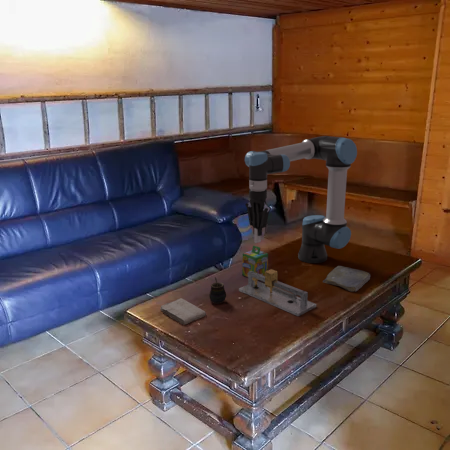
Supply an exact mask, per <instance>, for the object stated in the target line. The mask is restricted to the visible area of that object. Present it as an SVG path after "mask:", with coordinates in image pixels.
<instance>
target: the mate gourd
mask: <svg viewBox="0 0 450 450" xmlns="http://www.w3.org/2000/svg"><path fill="white" fill-rule="evenodd" d="M214 281H215V282H213V283H211V284H210V291H209V300H210V302H211V303H213V304H216V305H219V304H220V305H221V304H223V303H224V302H225V301H226V297H227V293H226V292H227V291H226V290H225V285H224V283H223V282H218V280H217V277H216V276H214Z"/></svg>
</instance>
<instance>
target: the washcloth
mask: <svg viewBox="0 0 450 450" xmlns="http://www.w3.org/2000/svg"><path fill="white" fill-rule="evenodd" d="M159 310H160V311H161V312H162V313H164V315H167V316H168V317H170V318H171V319H173V320H174V321H177V323H180V324H181V325H188V324H189V323H191V322H193V321H196V320H199V319H201V318H203V317H206V316H207V313H206V311H205V310H203V309H201V308H200V307H198V306H197V305H195V304H193V303H191V302H189V301H187V300H186V299H184V298H181V297H180V298H177V299H176V300H174V301H171V302H167V303H164V304H163V305H160V308H159Z"/></svg>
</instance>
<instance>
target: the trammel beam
mask: <svg viewBox="0 0 450 450" xmlns="http://www.w3.org/2000/svg"><path fill="white" fill-rule="evenodd" d="M247 278H248V279H247V284H245V285H244V286H241V287H239V288H238V292H241V293H244V294H245V295H248V296H250V297H252V298H255V299H257V300H260V301H262V302H264V303H266V304H268V305H271V306H274V307H275V308H278V309H280V310H283V311H285V312H287V313H289V314H292V315H294V316H296V317H300V316H302V315H304V314H305V313H307V312H309V311H312V310H314V309H315V308H316V307H317V303H314V302H312V301H309V300H308V298H309V297H308V295H309V294H308V293H309V292H308V291H305V290H302V289H300V288H297V287H294V286H292V285H289V284H287V283H283V282H282V281H279V280H277V281H276V280H273V281H272V285H273V286H275V287H277V288H280V289H282V290H284V291H287V292H289V293H292V294H296V297H297V299H295V298H293V297H291V296H288V295H286V294H284V293H281V292H279V291H277V290H274V289H272V293H270V288H269V287H266V286H265V276H263V275H261V274H258V273H255V272H253V271H250V272H248V277H247ZM298 299H300V300H298Z"/></svg>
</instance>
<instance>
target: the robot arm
mask: <svg viewBox="0 0 450 450" xmlns="http://www.w3.org/2000/svg"><path fill="white" fill-rule="evenodd" d="M357 155H358V149H357V145H356V143H355V142H354V141H353V140H352V139H351V138H346V137H343V136H330V135H329V136H328V135H322V136H317V137H312V138H308V139H303V140H302V142H299V143H294V144H290V145H284V146H280V147H275V148H269V149H266V150H258V151H256V150H251V151H248V152H247V153H246V154H245V156H244V163H245V166H247V167H248V174H249V175H248V181H249V182H248V185H249V186H248V188H249V191H248V195H249V196H248V198H249V202H247V203H245V208H246V211H247V216H248V222H249V225H250V226H252V229H253V232H252V233H253V241H254V242H253V243H255V244H258V243H261V242H262V235H263V229H264V228H267V223H268V218H269V214H270V211H271V209H272V208H271V207H270V206H268V205H267V201H266V200H267V198H268V196H267V195H268V190H267V189H268V175H270V174H271V175H272V174H278V173H280V174H281V173H284V172H287V171H288V170H289V168H290V167H291V162H295V161H297V160H299V161H300V160H302V159H305V160H313V159H315V160H322V161H325V167H326V168H327V169H328V175H327V176H328V177H327V195H326V198H327V199H326V214H325V215H320V214H317V215H316V214H315V215H314V214H313V215H307V216H305V217H303V219H302V226H301V229H302V230H301V234H302V235H301V246H300V248H299V251H298V253H297V255H298V256H297V257H298V260H299V261H301V262H304V263H308V264H320V263H324V262H326V261H327V260H328V253H327V250H326V246H328V247H330V248H331V249H333V248H334V249H338V250H339V249H343V248H344V247H346V246H348V245H347V244H348V243H349V242H350V240H351V236H352V230H351V229H350V228H349V227H348V225H347V223H348V222H347V219H345V207H346V191H347V179H348V177H347V176H348V171H349V169H350V168H351V167H352V165H351V164H353V163H354V162H355V161H356V159H357Z"/></svg>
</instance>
